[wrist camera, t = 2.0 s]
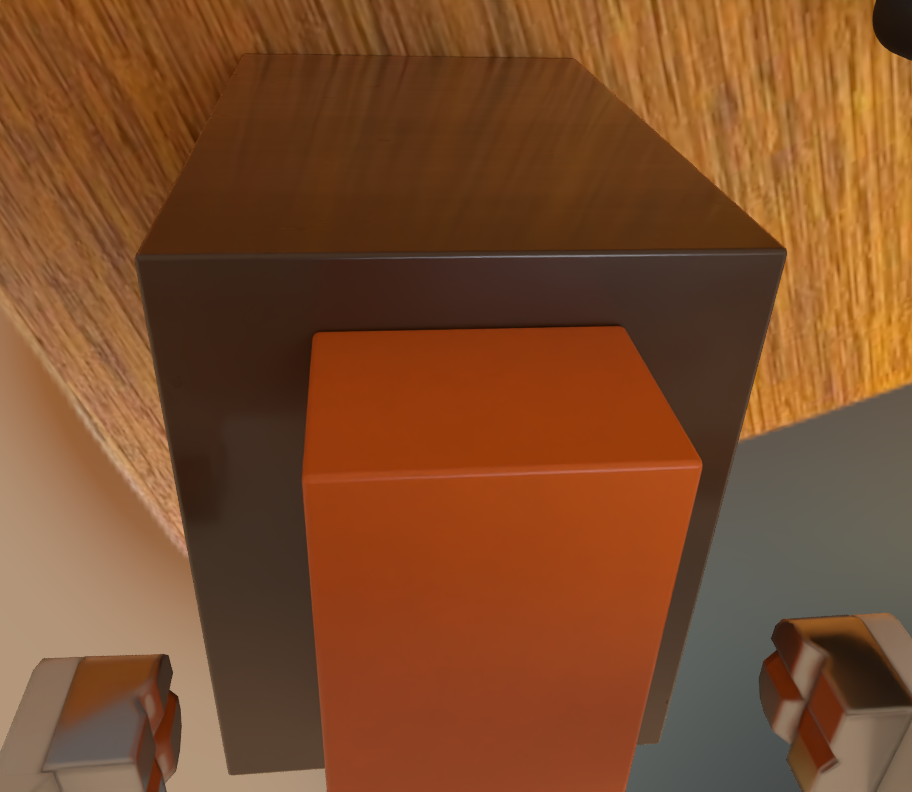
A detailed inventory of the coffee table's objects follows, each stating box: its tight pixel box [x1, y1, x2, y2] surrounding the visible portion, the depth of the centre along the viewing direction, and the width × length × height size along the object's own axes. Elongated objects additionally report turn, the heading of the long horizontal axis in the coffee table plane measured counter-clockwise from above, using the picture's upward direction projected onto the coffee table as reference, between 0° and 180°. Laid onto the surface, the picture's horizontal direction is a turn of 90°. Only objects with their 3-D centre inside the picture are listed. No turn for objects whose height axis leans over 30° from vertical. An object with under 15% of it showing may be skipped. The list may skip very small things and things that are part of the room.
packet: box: [302, 326, 703, 792], centre depth 12 cm, size 8×4×3 cm, turn 178°
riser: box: [135, 54, 787, 775], centre depth 18 cm, size 10×8×12 cm
